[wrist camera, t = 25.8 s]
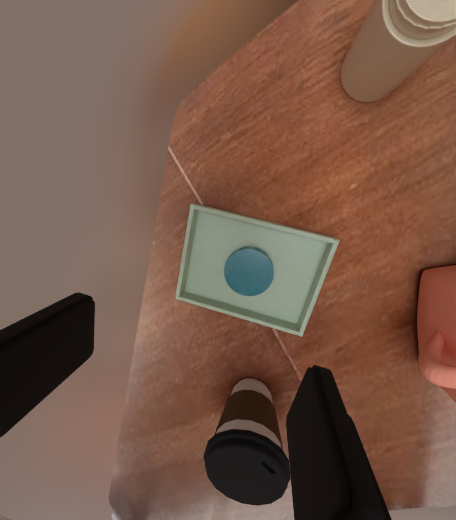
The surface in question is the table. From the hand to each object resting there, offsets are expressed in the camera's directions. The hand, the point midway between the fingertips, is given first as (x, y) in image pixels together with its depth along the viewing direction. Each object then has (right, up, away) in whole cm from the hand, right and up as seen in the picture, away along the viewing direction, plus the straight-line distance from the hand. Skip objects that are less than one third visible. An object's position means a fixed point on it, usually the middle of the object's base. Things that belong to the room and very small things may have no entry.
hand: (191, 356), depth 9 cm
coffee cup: (+6, -19, +28) cm, 35 cm away
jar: (+17, +25, +14) cm, 33 cm away
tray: (+5, +3, +22) cm, 23 cm away
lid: (+4, +2, +20) cm, 21 cm away
